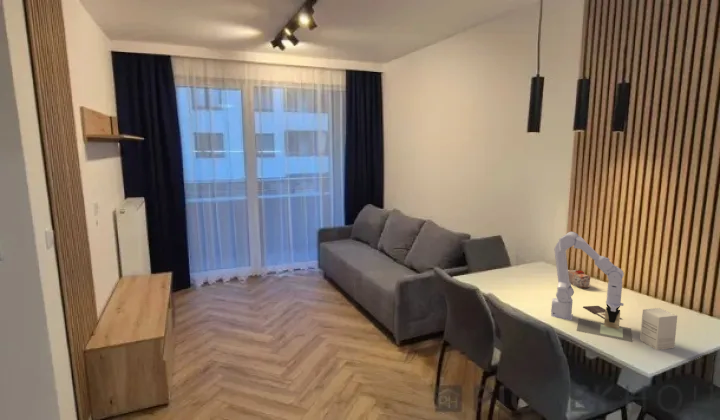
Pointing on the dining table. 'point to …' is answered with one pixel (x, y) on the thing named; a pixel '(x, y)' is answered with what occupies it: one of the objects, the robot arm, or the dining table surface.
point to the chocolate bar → (597, 310)
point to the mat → (604, 330)
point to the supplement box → (658, 328)
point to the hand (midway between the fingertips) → (611, 320)
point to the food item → (579, 278)
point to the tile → (610, 324)
